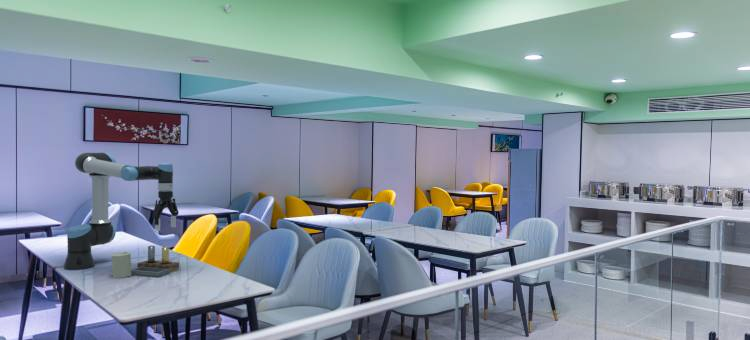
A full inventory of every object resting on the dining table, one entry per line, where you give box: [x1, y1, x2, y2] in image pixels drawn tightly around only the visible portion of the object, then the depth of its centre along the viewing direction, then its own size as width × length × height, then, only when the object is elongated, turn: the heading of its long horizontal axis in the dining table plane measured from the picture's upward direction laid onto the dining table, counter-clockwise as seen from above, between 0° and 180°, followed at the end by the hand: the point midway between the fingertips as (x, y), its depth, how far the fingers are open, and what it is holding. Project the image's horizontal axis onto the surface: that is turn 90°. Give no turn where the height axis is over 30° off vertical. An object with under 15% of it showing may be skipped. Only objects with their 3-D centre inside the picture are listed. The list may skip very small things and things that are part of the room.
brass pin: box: [161, 246, 170, 265], centre depth 292 cm, size 4×4×13 cm
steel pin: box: [147, 245, 156, 263], centre depth 294 cm, size 4×4×13 cm
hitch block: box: [137, 259, 180, 274], centre depth 293 cm, size 20×9×4 cm, turn 76°
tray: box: [131, 266, 170, 278], centre depth 283 cm, size 18×9×2 cm, turn 76°
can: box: [111, 251, 133, 279], centre depth 278 cm, size 9×9×12 cm
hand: (165, 228), depth 292 cm, fingers open, 13 cm apart
